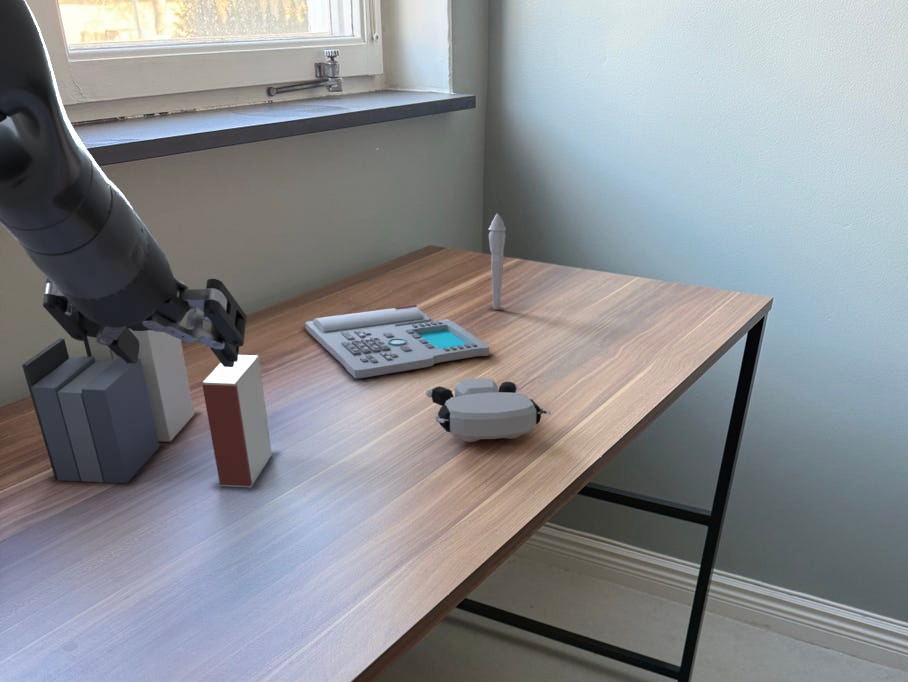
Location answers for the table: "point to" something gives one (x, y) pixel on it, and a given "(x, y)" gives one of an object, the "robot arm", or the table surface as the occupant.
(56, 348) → the grey books
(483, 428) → the robot toy
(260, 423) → the cream book
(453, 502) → the table surface
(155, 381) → the white books
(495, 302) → the pen
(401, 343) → the office telephone
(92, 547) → the table surface
